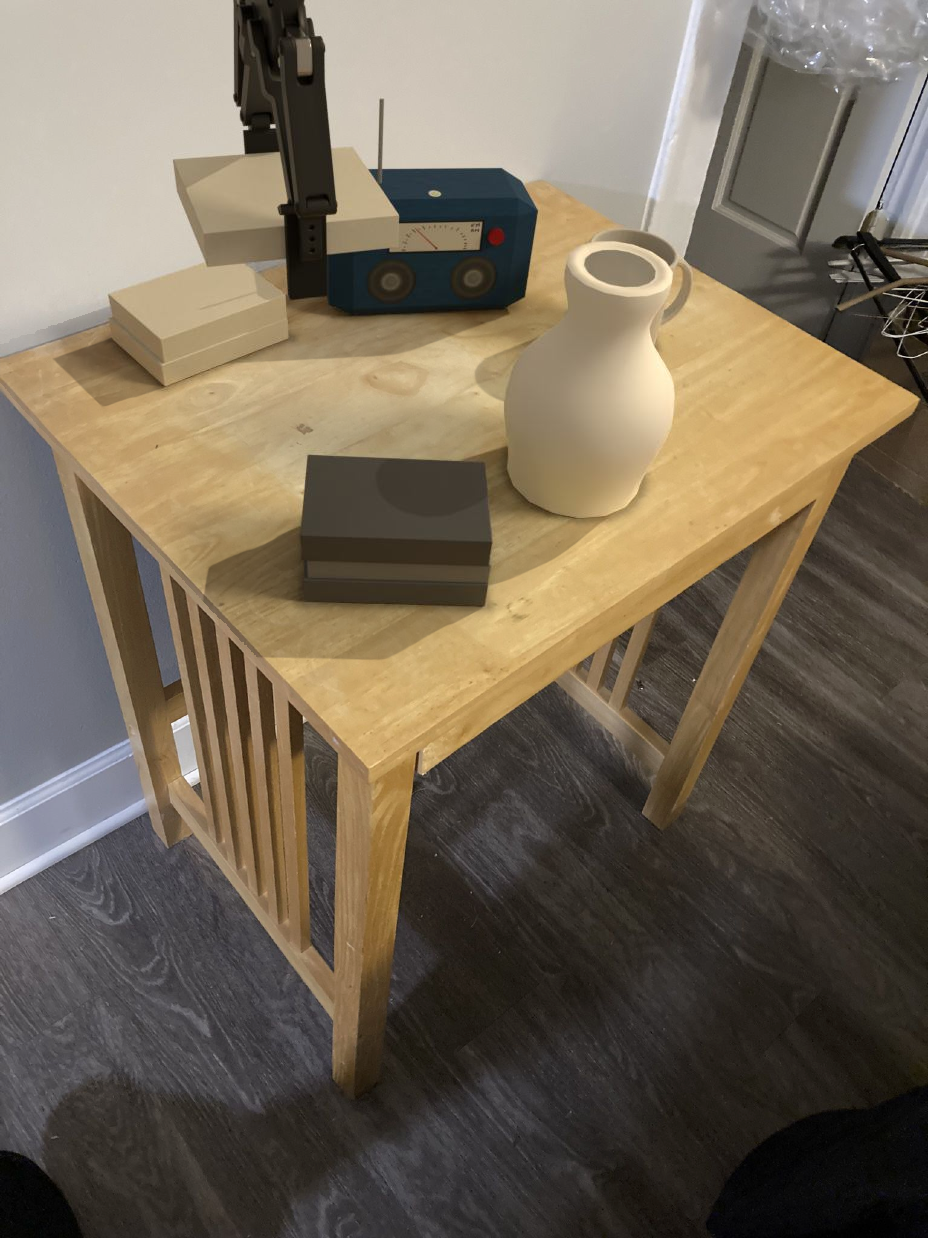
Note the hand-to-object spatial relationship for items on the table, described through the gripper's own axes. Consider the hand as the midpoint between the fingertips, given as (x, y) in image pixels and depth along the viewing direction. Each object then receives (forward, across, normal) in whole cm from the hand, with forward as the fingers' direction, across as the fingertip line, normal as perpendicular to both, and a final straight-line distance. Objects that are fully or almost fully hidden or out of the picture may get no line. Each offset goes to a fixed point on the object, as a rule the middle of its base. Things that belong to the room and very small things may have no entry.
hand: (286, 254), depth 73 cm
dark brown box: (+18, -16, -4) cm, 25 cm away
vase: (+18, -10, -23) cm, 31 cm away
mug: (+18, +8, -37) cm, 42 cm away
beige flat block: (-3, 0, 0) cm, 3 cm away
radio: (+18, +21, -19) cm, 34 cm away
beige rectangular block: (+18, +18, +5) cm, 26 cm away
